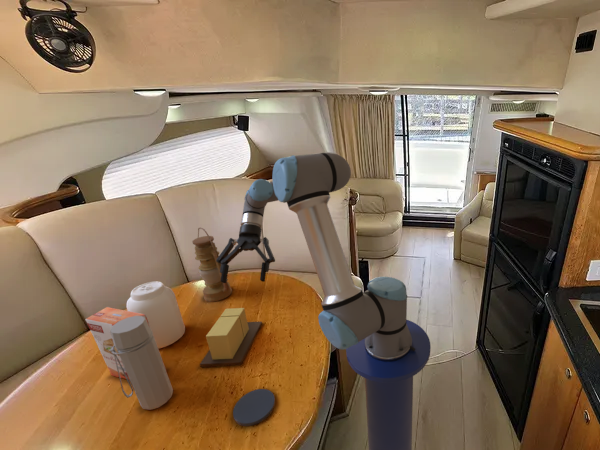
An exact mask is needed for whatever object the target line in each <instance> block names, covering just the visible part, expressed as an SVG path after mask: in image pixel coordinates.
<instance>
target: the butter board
mask: <svg viewBox="0 0 600 450" xmlns="http://www.w3.org/2000/svg"><path fill="white" fill-rule="evenodd" d="M247 323H248V327H249V330H248V332H247V334H246V336H245V337H244V339H243V341H242V343H241V344H240V346H239V348H238V350H237V352H236V353H235V355H234V357H233V359H215V360H212V356H211V353H210V349H209V350H208V351H207V352H206V354H205V356H204V357H203V359H202V360H201V362H200V363H199V366H200V368H208V367H227V366H241V365H243V363H244V361H245V359H246V357H247V354H248V353H249V351H250V349H251V347H252V345H253V343H254V341H255V338H256V337H257V335H258V334H259V331H260V329H261V328H262V325H263V322H262V321H247Z"/></svg>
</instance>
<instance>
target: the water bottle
mask: <svg viewBox="0 0 600 450" xmlns="http://www.w3.org/2000/svg"><path fill="white" fill-rule="evenodd" d="M110 332H111V336H112V340H113V343H114V346H113V347H112V348H110V351H111V352H112V353H113V355H114V356H116V355H117V354H119V356H120V358H121V361H122V363H123V365H124V368H125V370H126V372H127V375H128V377H129V379H130V380H128V378H127V376H126V374H125V372H124V370H123V368H122V366H121V364H120V362H119V360H118V358H117V356H116V357H115V361H116V358H117V360H118V363H119V365H120V367H121V369H122V371H123V373H124V375H125V377H126V379H125V380H126V382H127V384H128V386H129V388H130V390H131V393H129V394H128V393H127V392H126V391H125V390H124V387H123V383H122V378H120V374H119V370H118V365H117V361H116V365H117V370H118V374H119V377H118V379H119V383H120V387H121V392H122V393H123V395H124V397H126V398H127V399H128V398H131V397H133V394H135V396H136V398H137V400H138V403H139V405H140V407H141V408H142V409H143V410H151V411H152V410H155V409H158V408H161V407H162V406H163V405H166V403H168V402H169V400H170V399H171V398H172V396H173V393H174V388H173V386H172V384H171V379H170V378H169V375H168V373H167V368H166V366H164V365H165V363H164V360H163V358H161V357H162V355H161V352H160V349H159V350H158V347H157V344H156V342H155V339H154V336H153V333H152V330H151V329H150V327H149V325H148V324H147V322H146V320H145V318H144V317H143V316H133V317H128V318H126V319H123V320H121V321H119V322H117V323H116V324H114V325H113V326H112V328H111V329H110ZM114 347H116V349H117V351H118V353H116V351H115V349H114ZM159 352H160V353H159ZM162 360H163V361H162ZM163 363H164V364H163ZM165 368H166V369H165Z"/></svg>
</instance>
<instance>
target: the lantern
mask: <svg viewBox="0 0 600 450" xmlns="http://www.w3.org/2000/svg"><path fill="white" fill-rule="evenodd" d="M200 230H203V232H205V234H206V235H203V236H200ZM214 240H215V238H214V236H212V235H209V234H208V232H207V231H206V229H204V228H203V227H198V228H197V238H194V239H193V240H192V241H191V242H192V245H195V246H194V251H195V252H194V254H195V257H194V259H195V260H196V261H199V262H200V264H199V265H198V268H197V269H198V274H199V276H200V277H201V279H202V281H204V285H205V286H204V287H203V290H202V294H203V299H204V301H206V302H209V303H211V302H212V303H214V302H218V301H222V300H225V299H226V298H228V297H229V296H231V294H232V293H233V289H232V287H231V284H230V282H229V275H227V281H226V283H223V282H221V275H222V273H220V268H221V264H220V263H218V262H216V260H217V258H218V257H219V255H220V251H218V247H216V243H215V242H214Z"/></svg>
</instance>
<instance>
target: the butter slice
mask: <svg viewBox="0 0 600 450" xmlns="http://www.w3.org/2000/svg"><path fill="white" fill-rule="evenodd" d="M231 316H239V319H240V323H241V327H242V332H243V336H244V337H245V336H246V334H247V332H248V330H249V327H248V323H247V322H248V318H247V315H246V310H245V307H233V308H232V307H231V308H230V307H229V308H225V309H224V310H223V312H222V313H221V315H220V317H231Z"/></svg>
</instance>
